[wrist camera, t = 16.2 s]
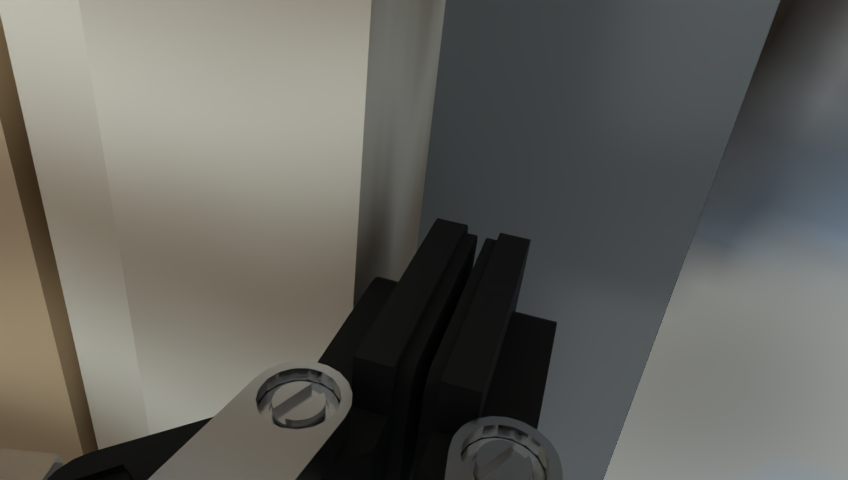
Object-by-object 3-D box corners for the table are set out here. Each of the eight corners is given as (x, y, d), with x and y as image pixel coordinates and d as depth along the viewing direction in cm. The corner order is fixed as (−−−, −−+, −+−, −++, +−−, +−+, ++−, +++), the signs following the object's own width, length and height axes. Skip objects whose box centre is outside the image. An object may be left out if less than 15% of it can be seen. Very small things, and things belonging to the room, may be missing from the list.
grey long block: (389, 483, 19) (334, 614, 15) (206, 423, 20) (117, 534, 16) (483, -324, 9) (397, -441, 6) (130, -347, 11) (-106, -455, 7)
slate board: (568, 542, 20) (563, 587, 19) (29, 370, 24) (-5, 397, 22) (921, -455, 9) (969, -513, 7) (-209, -476, 12) (-304, -516, 11)
